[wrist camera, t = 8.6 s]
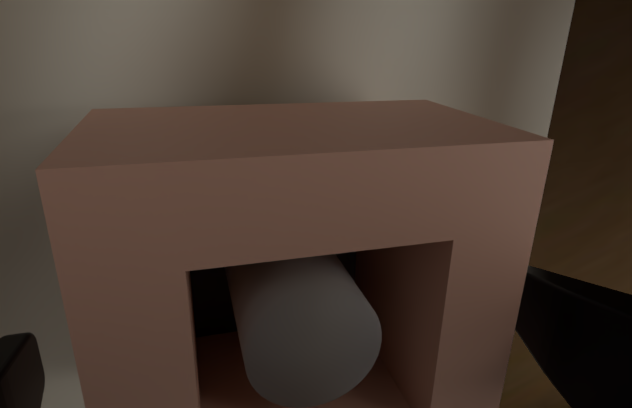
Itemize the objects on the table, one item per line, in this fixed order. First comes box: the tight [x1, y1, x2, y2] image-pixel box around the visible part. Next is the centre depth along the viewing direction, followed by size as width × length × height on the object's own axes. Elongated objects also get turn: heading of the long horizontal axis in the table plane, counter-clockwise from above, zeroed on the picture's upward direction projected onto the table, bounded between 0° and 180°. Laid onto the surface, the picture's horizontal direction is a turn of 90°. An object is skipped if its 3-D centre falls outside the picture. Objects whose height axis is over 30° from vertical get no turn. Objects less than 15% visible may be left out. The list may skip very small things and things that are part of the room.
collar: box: [35, 100, 554, 408], centre depth 9 cm, size 7×7×4 cm
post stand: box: [0, 0, 575, 408], centre depth 11 cm, size 16×16×6 cm
